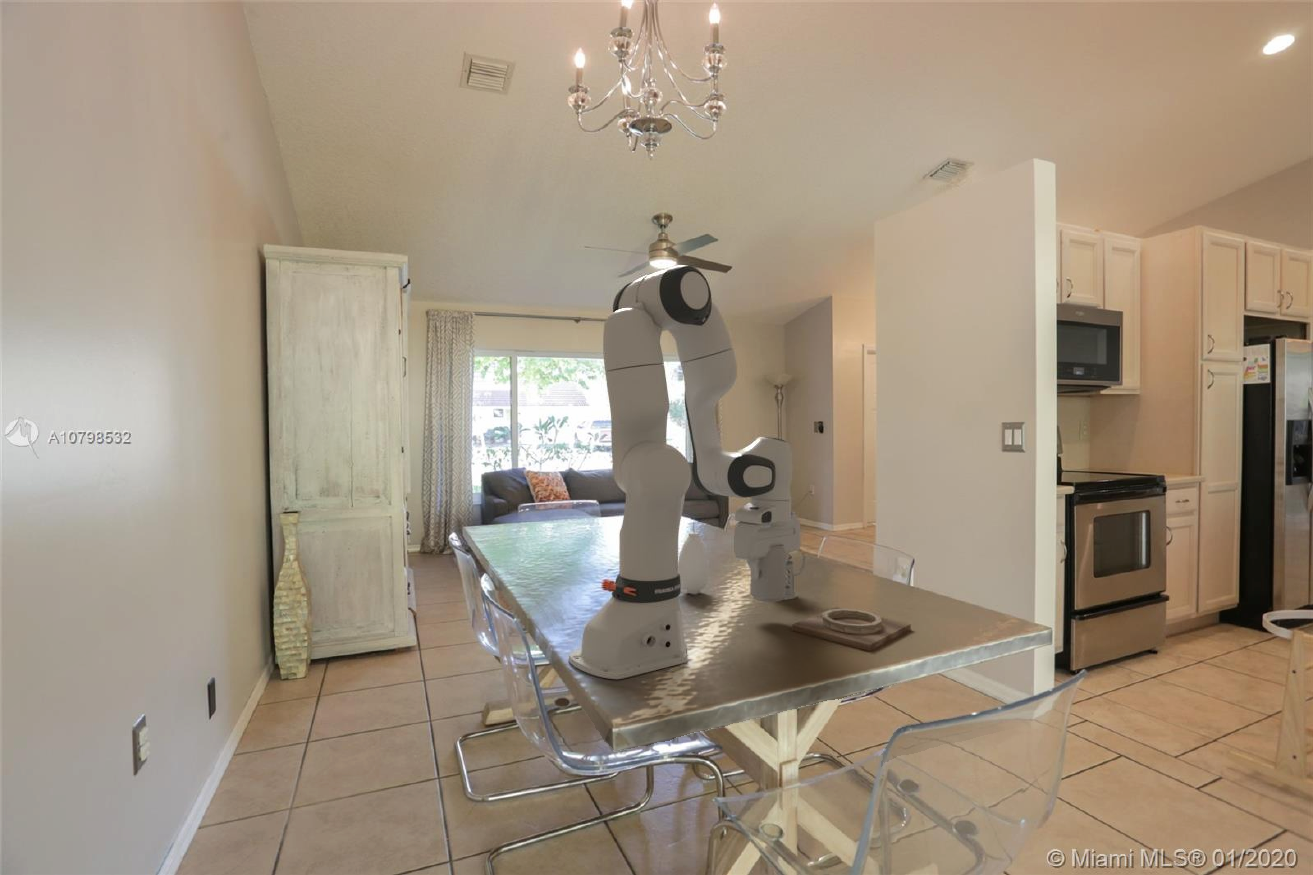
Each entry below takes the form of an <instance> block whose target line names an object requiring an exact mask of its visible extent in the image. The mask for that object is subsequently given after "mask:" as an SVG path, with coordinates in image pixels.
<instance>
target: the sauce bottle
mask: <svg viewBox="0 0 1313 875" xmlns="http://www.w3.org/2000/svg"><path fill="white" fill-rule="evenodd" d="M707 552H708V551H707V548H706V545H705V544H704V542H703V539H701V537H700V534H699V532H696V531H695V522H693V523H692V531H691V532H688V536H687V537H686V539H685V541H684V543H683V544H682V547H681V550H680V552H679V555H678V573H679V574H680V583H681V586H682V588H683V589H684V590H686V592H687V593H689V594H690V595H698V594H699V593H701V591H702V590H704V589H705V588H706V586H707V584H708V581H709V576H710V561H709V555H708V553H707Z"/></svg>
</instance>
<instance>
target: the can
mask: <svg viewBox="0 0 1313 875" xmlns="http://www.w3.org/2000/svg"><path fill="white" fill-rule="evenodd" d="M783 547H784V545H783V544H782V545H781V546H770V547H769V548H770V550H769V552H768V553H767V556H766V557H762V558H759V563H757V564H758V567H759V570H761V578H758V579H753V578H751V577H750V589H749V590H750V591H749V593H750V595H751V596H752V597H753V599H754V600H757V601H760V602H765V603H766V602H767V603H774V602H775V603H777V602H781V601H782V600H781V599H783V598H784V597H785V586H786V583H787V581H786V578H787V576H786V573H787V570H786V554H787V552H786V551H785V549H784V548H783Z"/></svg>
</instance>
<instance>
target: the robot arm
mask: <svg viewBox="0 0 1313 875" xmlns="http://www.w3.org/2000/svg"><path fill="white" fill-rule="evenodd" d="M711 291H712V290H711V287H710V285H709V282H708V280H707V279H706V277H705V275H704V274H703V273H702V272H701V271H700V270H699V269H698V268H697V267H696V266H693V265H688V264H687V265H685V264H682V265H674V266H670V267H669V268H667V269H664V270H663V269H662V270H659V271H656V272H651V273H648V274H645V275H644V276H642V277H639V278H637V279H636V280H634V281H631V282H629V283H627V284H626V285H624V286H623V287H622V288H621V289H620V290H619V291H618V292H617V294H616V295H615V298H614V299H613V304H612V313H611V314H609V315H608V317H606V319H605V321H604V324H603V332H602V333H603V338H602V339H603V340H602V341H603V342H602V345H603V346H602V347H603V348H602V350H603V363H604V372H605V373H604V374H605V380H606V389H607V394H608V395H607V397H608V404H609V410H610V421H611V422H610V423H611V425H610V428H611V430H610V432H611V435H610V436H611V437H610V438H611V440H610V441H611V458H612V475H613V476H612V477H613V479H614V481H615V483H616V485H617V486H618V488H619V489H620V490H621V491H622V492H623V493H625V503H624V504H625V505H624V512H623V518H622V524H621V528H620V530H619V536H618V538H619V542H618V543H619V553H618V554H619V555H618V556H619V565H618V566H619V573H618V574H617V576H616V578H615V581H614V580H610V579H608V578H605V579H603V580H602V582H601V585H600V586H601V587H600V588H601V589H602V590H603V591H608V592H610V593H611V597H610V599H608V600H607V602H606V603H605V604H604V605H603V606H602V607H601V608H600V609H599V611H598V612H597V613H596V614H595V615H594V616H593V617H592V618H591V619H590V620H589V621H588V622H587V623H586V625H585V626H584V630H583V633H582V639H581V641H582V642H581V647H580V648H577V649H575V650H574V651H572V652H569V654H568V661H569V662H570V664H571V665H572V666H573V667H575V668H576V669H578V670H580V671H583V672H584V673H587V674H589V675H593V676H595V677H599V678H604V679H609V680H610V679H611V680H621V679H622V680H623V679H626V678H630V677H633V676H638V675H641V674H645V673H650V672H654V671H656V670H657V671H658V670H661V669H665V668H670V667H672V666H676V665H681V664H685V663H688V660H689V658H688V654H687V651H688V648H687V644H686V641H685V636H684V635H685V634H684V628H683V619H682V613H681V607H680V601H679V600H680V598H679V596H680V595H681V593H682V592H681V589H682V588H681V586H682V584H681V582H680V574H679V573H678V562H679V532H680V525H681V520H682V515H683V508H684V504H685V500H686V499H685V497H686V493H687V491H689V487H690V485H691V481H692V480H693V482H694V484H695V486H696V488H697V489H698V490H699V491H700V492H702V493H704V494H705V495H708V496H724V497H729V498H739V499H746V498H747V499H748V498H750V500H749V502H748V503H746V504H745V505H743V506H742V507H741V508H739V509H737V510H736V511H735V512H734V520H735V521H736V522H737V523H736V525H735V527H734V530H733V532H734V534H733V552H734V553H733V554H734V555H735V557H736V558H737V559H742V560H747V561H746V563H747V565H748V568H749V570H750V579H751V578H753V579H758V578H761V570H759V567H758V564H757V563H759V558H762V557H766V556H767V553H768V552H769V550H770V548H769V547H770V546H781V545H782V544H783V545H784V547H783V548H784V549H785V551H786V552H787V554H786V563H787V561H788V558H789V555H790V553H792V552H798V551H800V550H799V549H801V546H802V544H801V543H802V537H801V536H802V535H801V534H802V532H801V524H800V521H799V518H798V514H797V513H796V511H795V510H794V509H792V494H791V484H792V481H793V454H792V448H791V446H790V444H789V442H787V441H786V440H784V439H781V438H777V437H770V436H758V437H756V438H755V439H754V441H753V442H751V443H750V444H748V445H747V446H746V447H744V448H742V449H739V450H738V449H737V451H726V449H724V448H723V447H722V445H721V440H720V436H719V431H718V423H717V418H716V408H717V407H716V406H717V404H718V403H719V401H720V400H721V399H722V397H724V396H725V395H727V393H728V392H730V390H731V389H732V387H734V385H735V383H736V380H737V376H738V366H737V365H738V364H737V359H736V355H735V351H734V348H733V344H732V341H731V337H730V334H729V331H728V327H727V326H726V324H725V321H724V319H723V317H722V315H721V314H722V313H721V312H720V309H719V308H718V307H717V305H716V304H714V303H713V301H712V299H713V298H712V293H711ZM666 331H668V332H669V333H670V334H671V336H672V337H673V338H674V341H675V345H676V350H677V354H678V358H679V362H680V366H681V369H682V375H683V380H684V389H685V390H684V407H685V413H686V414H685V415H686V420H687V424H688V425H687V426H688V430H689V437H690V441H691V442H690V444H691V448H692V466H691V465H690V462H689V461H688V459H687V458H686V457H685V455H683V453H681V451H680V450H678V449H677V448H675V447H674V446H672V445H671V444H668V443H667V426H668V414H669V411H670V400H669V392H668V384H667V375H666V369H665V363H664V357H663V356H664V355H663V350H662V346H661V337H662V333H663V332H666ZM691 468H692V469H691Z"/></svg>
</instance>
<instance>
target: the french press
mask: <svg viewBox="0 0 1313 875" xmlns="http://www.w3.org/2000/svg"><path fill="white" fill-rule="evenodd" d="M798 551H799V552H801V554H802V557H803V559H802V560H803V563H802V566H801V568H800V569H799V570H798V571H796V572H794V562H793V561H792V560H791V559H792V558H793V556H792V555H791V554H789V558H788V561H787V563H786V586H785V597H784V598H783V599H781V601H783V600H785V601H787V600H791V599H795V598H797V596H798V593H796V592H795V589H794V588H795V577H796V576H798V575H800V574H801V573H802V572H803V571H804V569H805V565H806V556H805V554H804V552H803V550H802V549H801V548H800V549H799V550H798Z"/></svg>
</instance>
